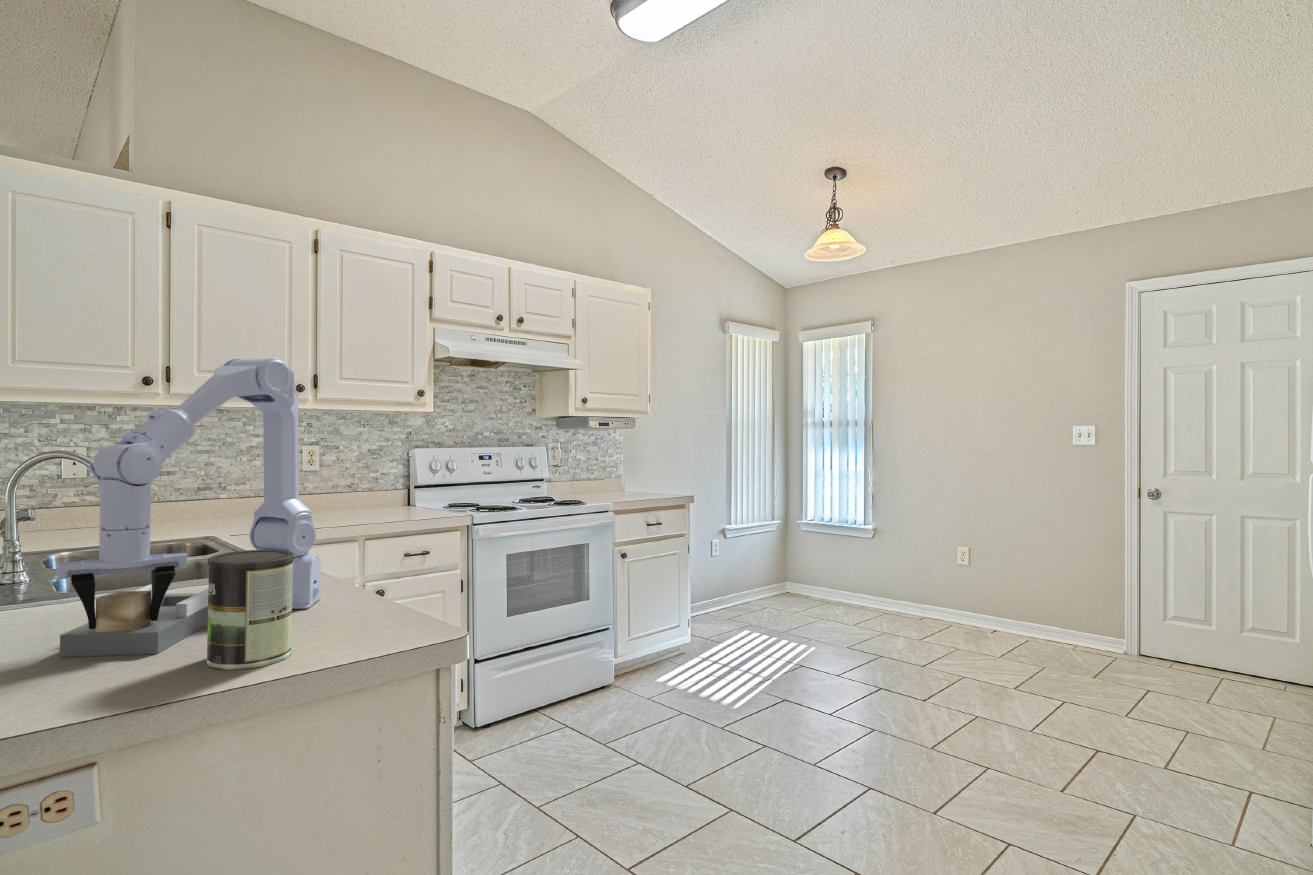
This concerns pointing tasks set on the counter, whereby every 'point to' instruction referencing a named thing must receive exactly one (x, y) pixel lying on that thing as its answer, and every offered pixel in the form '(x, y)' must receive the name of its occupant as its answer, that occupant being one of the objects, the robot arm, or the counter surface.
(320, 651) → the counter surface
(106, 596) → the block
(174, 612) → the grey railed base
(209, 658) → the coffee can
